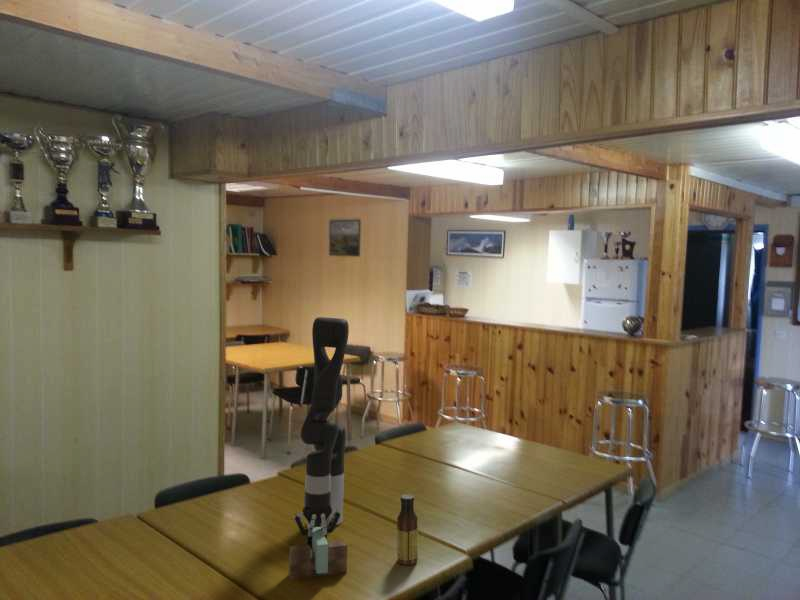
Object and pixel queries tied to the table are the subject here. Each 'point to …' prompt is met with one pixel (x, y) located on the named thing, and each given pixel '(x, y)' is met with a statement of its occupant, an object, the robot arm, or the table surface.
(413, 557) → the sauce bottle
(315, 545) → the teal board
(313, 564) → the walnut u-shaped block
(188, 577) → the table surface
